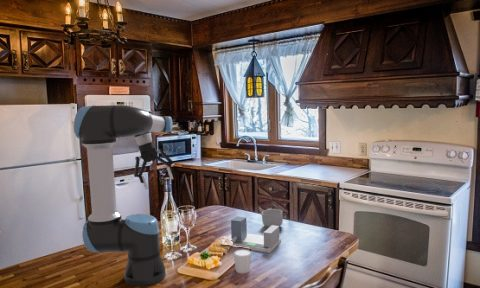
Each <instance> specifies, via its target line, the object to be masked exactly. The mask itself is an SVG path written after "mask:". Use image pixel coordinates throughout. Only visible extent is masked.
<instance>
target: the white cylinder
mask: <svg viewBox="0 0 480 288" xmlns="http://www.w3.org/2000/svg"><path fill="white" fill-rule="evenodd" d="M251 251H252V250H249V249H243V248H240V249H237V250H235V251H233V259H234V266H235V267H234V269H235V271H236V272H237V273H238V274H247V273H249V272H250V271H251V261H252V252H251Z"/></svg>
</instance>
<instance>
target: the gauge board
mask: <svg viewBox="0 0 480 288" xmlns="http://www.w3.org/2000/svg"><path fill="white" fill-rule="evenodd" d="M227 237H229V238H230V239H232V237H231V234H229V235H228V236H227ZM281 242H282V238H281V237H280V226H275V225H272V226H270V227H269V228H267V229H266V230H265V231H263V235H262V234H261V235H260V234H255V233H254V234H253V233H248V232H247V236H246V237H245V238H244V239H243V240H235V241H234V242H233V245H236V246H242V247H249V248H250V249H251V250H250V251H256V252H262V253H268V254H269V253H270V254H271V252H272V251H273V250H274V249H275V248H276V247H277V246H279V244H280V243H281Z"/></svg>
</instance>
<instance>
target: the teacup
mask: <svg viewBox="0 0 480 288" xmlns="http://www.w3.org/2000/svg"><path fill="white" fill-rule="evenodd" d="M283 213H284V212H283V211H282V210H281V209H278V208H267V209H265V210H263V211H261V220H262V224H263V225H264V226H263V227H266V228H267V229H268V228H269V227H270V226H272V225H275V226H279V227H280V226H282V224H283V222H284V221H283V220H284V219H283V218H284V217H283Z"/></svg>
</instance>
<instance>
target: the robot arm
mask: <svg viewBox="0 0 480 288" xmlns="http://www.w3.org/2000/svg"><path fill="white" fill-rule="evenodd" d="M173 123H174V122H173V119H172V117H171V116H165V115H163V116H162V115H156V114H155V115H154V114H151V113H150V112H149V111H147V110H145V109H143V108H139V107H134V106H130V105H125V104H117V105H114V104H112V105H94V104H93V105H88V106H86V105H85V106H82V107H80V108H79V109H78V110H77V112H76V113H75V116H74V121H73V131H74V134H75V135H74V136H75V137H76V138H77V139H80V140H81V145H82V146H84V148H86V152H87V154H86V155H87V165H88V166H87V167H88V178H89V191H90V193H89V194H90V203H91V214H89V216H88V217H87V220H86V222H85V223H84V224H83V226H82V232H81V233H82V242H83V244H84V247H85V248H86V249H87V250H88V251H89V252H92V253H100V254H101V253H116V252H117V253H118V252H119V253H120V252H121V253H122V252H127V261H126V266H125V270H124V273H123V275H124V276H123V277H124V283H126V284H127V285H129V286H132V287H147V286H151V285H154V284H157V283H159V282H161V281H162V280H163V279H165V277H166V275H167V271H166V266H165V264H164V261H163V259H162V256H161V252H160V251H161V246H160V228H159V222H158V219H157V218H156V217H155V216H154V215H151V214H146V213H134V214H133V213H132V214H130V215H128V216H126V217H125V219H122V213H121V212H120V211H118V210H117V197H116V184H115V167H114V156H113V153H114V152H113V146H114V145H115V144H116V143H117V138H118V139H120V138H127V137H128V138H129V137H133V136H134V138H135V142H136V145H137V147H138V150H139V153H140V155H139V156H135V167H134V175H133V176H134V177H135V178H138V179H139V181H140V184H143V187H144V189H145V190H147V189H149V188H148V185H147V182H146V179H145V176H144V175H143V173H144V171H145V168H146V166H147V163H150V162H153V161H158V162H160V163H162V164H164V165H165V166H167V167H166V169H167V173H168V176H169V178H170V180H174V177H173V173H172V172H173V168H172V165H173V164H174V163H175V162H174V161H173V160H172V159H171V158H170V157H169V156H168V155H167V154H166V153H165V151H164V150H163V149H162V148H158V149H156V146H155V143H154V141H153V138H152V135H151V133H156V134H157V133H172V131H173V128H174V127H173V126H174V125H173ZM158 154H160V156H162V157H163V158H164V159H165V160H164V159H163V158H161V157H160V156H158ZM141 159H142V160H143V161H142V164H141V167H140V161H141ZM139 168H140V169H139Z"/></svg>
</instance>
